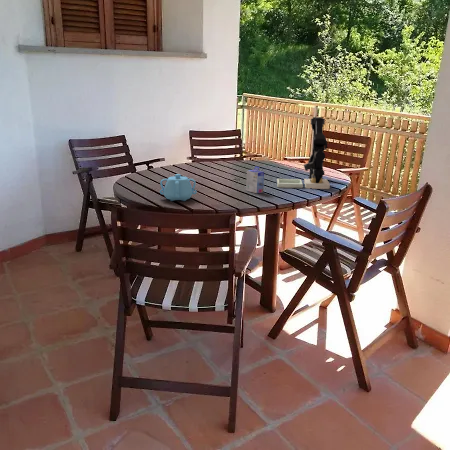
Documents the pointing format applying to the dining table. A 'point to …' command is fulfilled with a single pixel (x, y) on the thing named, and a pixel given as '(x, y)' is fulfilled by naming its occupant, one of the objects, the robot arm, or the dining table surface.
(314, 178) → the block
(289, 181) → the parts tray
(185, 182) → the decorative pot
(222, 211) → the dining table surface
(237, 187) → the dining table surface
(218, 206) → the dining table surface
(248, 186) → the ink cartridge box
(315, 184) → the white square frame
